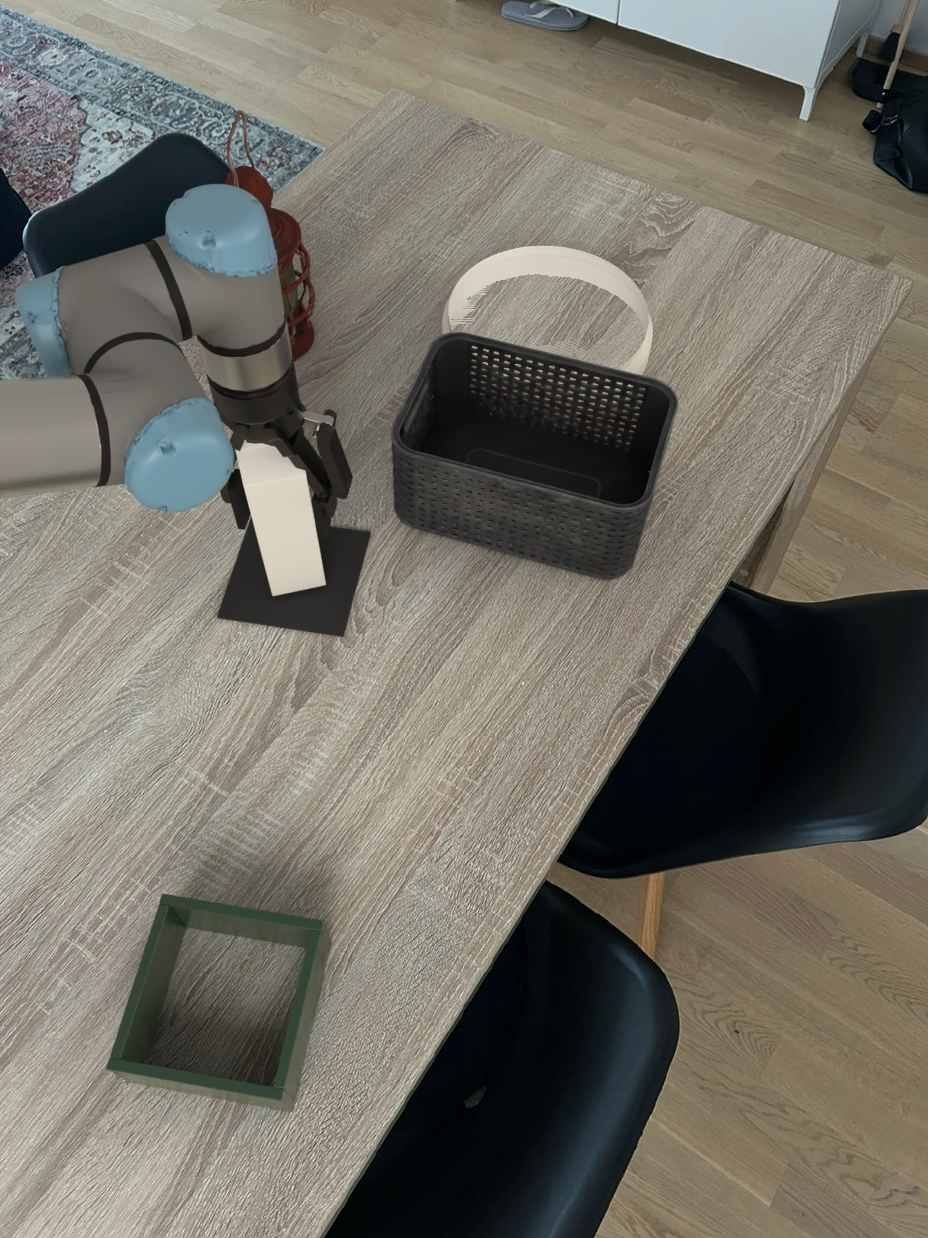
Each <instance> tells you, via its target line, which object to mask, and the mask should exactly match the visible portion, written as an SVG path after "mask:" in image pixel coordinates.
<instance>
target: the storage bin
mask: <svg viewBox="0 0 928 1238" xmlns="http://www.w3.org/2000/svg"><path fill="white" fill-rule="evenodd" d="M472 346H474V347H477V348H472ZM483 349H486V350H489V351H488V352H487V351H485V350H483ZM494 352H498V353H499V354H495V353H494ZM472 353H476V354H477V355H474V354H472ZM483 355H484V356H487V357H488V358H486V357H483ZM505 355H510V357H508V356H505ZM516 357H518V358H520V359H516ZM494 359H499V361H497V360H494ZM521 359H522V360H521ZM472 360H476V361H472ZM505 361H507V362H509V363H505ZM528 361H532V363H531V362H528ZM483 362H486V363H488V365H487V364H484V363H483ZM538 363H541V364H543V365H538ZM515 364H519V365H521V367H519V366H517V365H515ZM493 365H496V366H498V367H494V366H493ZM472 366H476V367H477V368H474V367H472ZM549 366H554V367H555V368H551V367H549ZM526 367H529V368H532V369H527V368H526ZM482 368H483V369H486V370H482ZM504 368H508V369H509V370H506V369H504ZM561 368H562V369H564V370H566V371H563V370H560V369H561ZM515 370H516V371H518V372H520V373H517V372H515ZM537 370H542V371H543V372H539V371H537ZM471 372H473V373H475V374H472V373H471ZM494 372H498V374H496V373H494ZM572 372H577V374H575V373H572ZM548 373H553V375H552V374H548ZM503 374H506V375H508V376H504V375H503ZM526 374H531V376H529V375H526ZM583 374H586V375H588V376H583ZM482 375H486V376H487V377H485V376H482ZM537 376H538V377H541V378H537ZM560 376H565V377H564V378H563V377H560ZM492 377H493V378H495V379H492ZM514 377H516V378H519V380H518V379H516V378H514ZM594 377H599V378H600V379H596V378H594ZM570 378H573V379H576V380H571V379H570ZM472 379H476V381H475V380H472ZM496 379H497V380H496ZM548 379H549V380H553V381H552V382H551V381H549V380H548ZM606 379H607V380H610V381H605V380H606ZM525 380H528V381H530V382H526V381H525ZM481 381H483V382H485V383H482V382H481ZM503 381H508V383H506V382H503ZM582 381H587V383H584V382H582ZM558 382H562V383H564V384H560V383H558ZM617 382H619V383H622V385H621V384H618V383H617ZM513 383H515V384H517V385H513ZM536 383H540V384H541V385H538V384H536ZM593 383H595V384H598V385H593ZM492 384H495V385H497V386H494V385H492ZM471 385H474V386H471ZM570 385H575V387H572V386H570ZM628 385H631V386H634V387H629V386H628ZM546 386H551V387H552V388H550V387H546ZM604 386H608V387H610V388H606V387H604ZM502 387H505V388H507V389H505V388H502ZM525 387H529V389H528V388H525ZM580 387H583V388H585V389H581V388H580ZM483 388H485V389H483ZM616 388H617V389H619V390H621V391H619V390H615V389H616ZM535 389H537V390H539V391H535ZM558 389H563V391H561V390H558ZM491 390H493V391H495V392H493V391H491ZM513 390H517V391H518V392H516V391H513ZM592 390H596V391H597V392H594V391H592ZM472 391H474V392H475V393H474V392H472ZM568 391H571V392H573V393H569V392H568ZM524 392H525V393H527V394H523V393H524ZM546 392H550V393H551V394H548V393H546ZM603 392H605V393H608V394H603ZM628 392H629V393H628ZM481 393H482V394H485V395H481ZM502 393H503V394H502ZM504 394H507V395H504ZM580 394H585V396H582V395H580ZM535 395H536V396H539V398H538V397H535ZM557 395H560V396H562V397H560V396H557ZM614 395H618V396H620V397H616V396H614ZM491 396H492V397H491ZM512 396H514V397H512ZM591 396H593V397H595V398H591ZM493 397H496V398H493ZM545 398H547V399H550V400H545ZM568 398H573V400H571V399H568ZM501 399H503V400H501ZM524 399H527V400H528V401H526V400H524ZM602 399H607V401H604V400H602ZM504 400H505V401H504ZM578 400H581V401H584V402H579V401H578ZM533 401H535V402H537V403H534V402H533ZM556 401H561V403H558V402H556ZM613 401H615V402H616V403H613ZM512 402H515V403H517V404H515V403H512ZM566 403H568V404H570V405H566ZM590 403H595V405H593V404H590ZM544 404H546V405H549V406H546V405H544ZM522 405H525V406H522ZM600 405H603V406H606V407H601V406H600ZM511 407H512V408H514V409H511ZM555 407H558V408H560V409H558V408H555ZM579 407H583V408H579ZM534 408H538V410H537V409H534ZM588 409H592V410H588ZM678 409H679V398H678V395H677V394H676V392H675V390H674V389H673V388H672V387H671V386H670V385H669V384H667V383H666V382H664V381H663V380H660V379H657V378H654V377H651V376H646V375H644V374H643V375H639V374H635V373H630V372H626V371H622V370H618V369H614V368H610V367H606V366H602V365H598V364H594V363H590V362H586V361H581V360H577V359H573V358H569V357H565V356H561V355H557V354H553V353H549V352H545V351H541V350H536V349H532V348H528V347H524V346H520V345H516V344H512V343H508V342H504V341H499V340H495V339H491V338H487V337H483V336H479V335H475V334H471V333H466V332H451V333H447V334H444V335H442V334H441V335H440V336H438V337H436V338H435V339H434V340H433V341H432V342H431V343H430V344H429V347H428V349H427V351H426V353H425V356H424V358H423V360H422V363H421V365H420V367H419V369H418V371H417V373H416V376H415V378H414V379H413V382H412V383H411V385H410V388H409V389H408V392H407V394H406V396H405V398H404V400H403V402H402V404H401V406H400V408H399V410H398V412H397V414H396V415H395V418H394V420H393V422H392V425H391V427H390V439H391V452H392V457H391V463H392V477H393V481H392V486H393V499H394V500H393V508H394V512H395V514H396V516H397V518H398V520H399V521H401V522H402V524H403V525H406V526H407V527H409V528H412V529H415V530H418V531H421V532H426V533H429V534H433V535H436V536H440V537H444V538H448V539H451V540H455V541H458V542H462V543H465V544H469V545H472V546H476V547H480V548H483V549H487V550H491V551H494V552H497V553H501V554H506V555H509V556H513V557H517V558H520V559H524V560H527V561H532V562H535V563H539V564H542V565H546V566H549V567H553V568H556V569H560V570H563V571H568V572H571V573H575V574H579V575H583V576H586V577H591V578H594V579H598V580H603V581H605V580H606V581H607V580H616V579H619V578H621V577H623V576H625V575H626V574H628V572H630V570H631V569H632V567H633V566H634V564H635V560H636V557H637V554H638V551H639V546H640V544H641V543H640V542H641V540H642V536H643V532H644V528H645V526H646V522H647V519H648V515H649V512H650V507H651V505H652V504H651V503H652V502H653V499H654V494H655V491H656V487H657V484H658V479H659V475H660V471H661V469H662V465H663V462H664V458H665V454H666V452H667V449H668V445H669V442H670V439H671V434H672V431H673V427H674V424H675V419H676V415H677V412H678ZM543 410H546V411H548V412H546V411H543ZM566 410H571V411H570V412H569V411H566ZM502 411H503V412H502ZM524 411H526V412H524ZM576 412H579V413H581V414H577V413H576ZM532 413H533V414H532ZM555 413H558V414H559V415H557V414H555ZM513 414H516V415H513ZM565 415H566V416H568V417H565ZM521 416H522V417H521ZM544 416H545V417H544ZM546 417H547V418H546ZM554 419H556V420H554Z"/></svg>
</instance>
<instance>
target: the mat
mask: <svg viewBox="0 0 928 1238" xmlns="http://www.w3.org/2000/svg"><path fill="white" fill-rule="evenodd" d="M315 526H316V524H315ZM316 531H317V530H316ZM317 537H318V535H317ZM370 538H371V531H368V530H367V531H366V530H360V529H352V528H345V527H339V526H331V525H330V528H329V531H328V534H327V538H326V541H320V540H318V542H319V548H320V553H321V559H322V565H323V570H324V576H325V581H326V585H324V586H319V587H314V588H310V589H305V590H300V591H295V592H291V593H286V594H281V595H277V596H272V593H271V589H270V585H269V581H268V577H267V574H266V570H265V566H264V562H263V558H262V555H261V551H260V547H259V543H258V539H257V536H256V532H255V528H254V524H253V520H252V517H251V516H250V517H249V520H248V523H247V526H246V529H245V533H244V536H243V538H242V541H241V544H240V548H239V551H238V553H237V557H236V559H235V562H234V565H233V568H232V571H231V574H230V577H229V580H228V583H227V585H226V588H225V591H224V594H223V597H222V600H221V602H220V606H219V609H218V612H217V615H216V618H217V619H220V620H226V621H234V622H240V623H247V624H253V625H261V626H266V627H267V626H268V627H275V628H281V629H287V630H295V631H301V632H307V633H314V634H322V635H329V636H333V637H342V638H343V637H344V636H345V633H346V629H347V625H348V620H349V617H350V615H351V614H350V613H351V609H352V605H353V602H354V598H355V594H356V591H357V587H358V583H359V579H360V576H361V575H360V574H361V572H362V568H363V565H364V560H365V556H366V553H367V549H368V546H369V545H368V544H369V542H370Z"/></svg>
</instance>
